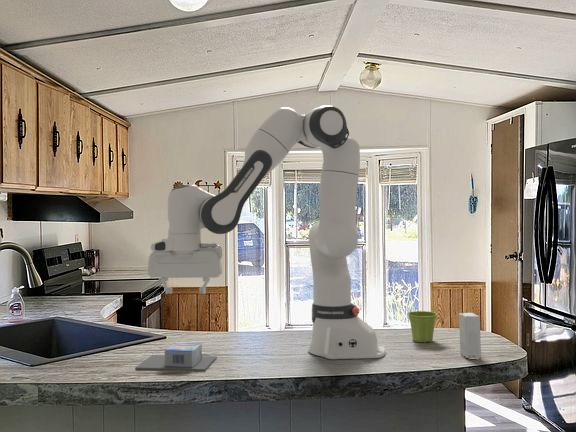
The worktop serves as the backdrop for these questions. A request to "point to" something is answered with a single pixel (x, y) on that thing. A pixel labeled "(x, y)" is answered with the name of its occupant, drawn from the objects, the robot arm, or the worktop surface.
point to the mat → (159, 364)
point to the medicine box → (183, 355)
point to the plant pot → (422, 325)
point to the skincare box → (470, 335)
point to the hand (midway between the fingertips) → (185, 293)
